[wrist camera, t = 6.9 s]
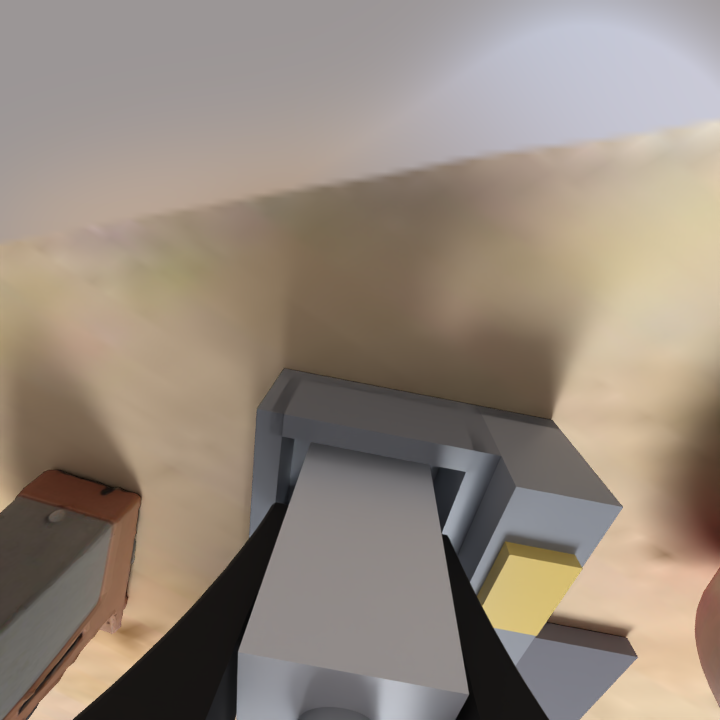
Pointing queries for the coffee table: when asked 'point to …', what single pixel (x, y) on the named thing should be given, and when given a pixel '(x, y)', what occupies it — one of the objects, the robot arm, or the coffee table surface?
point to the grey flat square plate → (572, 668)
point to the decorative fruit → (710, 634)
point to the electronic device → (59, 580)
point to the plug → (354, 600)
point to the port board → (454, 484)
